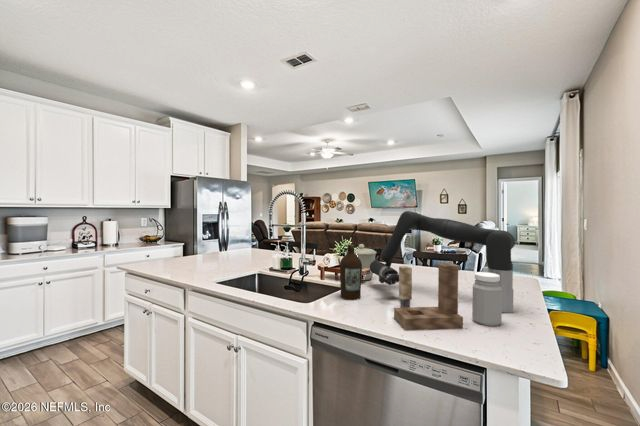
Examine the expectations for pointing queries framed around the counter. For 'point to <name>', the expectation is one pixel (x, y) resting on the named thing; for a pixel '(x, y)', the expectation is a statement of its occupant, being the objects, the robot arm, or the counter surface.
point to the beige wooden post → (405, 286)
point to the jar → (487, 299)
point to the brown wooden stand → (436, 316)
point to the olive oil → (350, 275)
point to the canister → (366, 258)
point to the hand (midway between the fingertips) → (400, 282)
